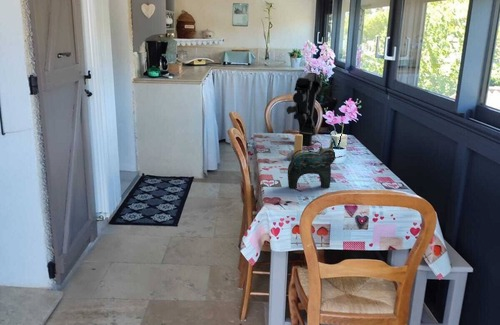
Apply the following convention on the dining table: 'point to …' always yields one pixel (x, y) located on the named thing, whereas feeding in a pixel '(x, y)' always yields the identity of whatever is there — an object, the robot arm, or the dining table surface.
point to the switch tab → (298, 143)
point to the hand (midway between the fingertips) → (300, 129)
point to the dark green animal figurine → (311, 165)
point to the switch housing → (294, 155)
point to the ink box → (337, 138)
